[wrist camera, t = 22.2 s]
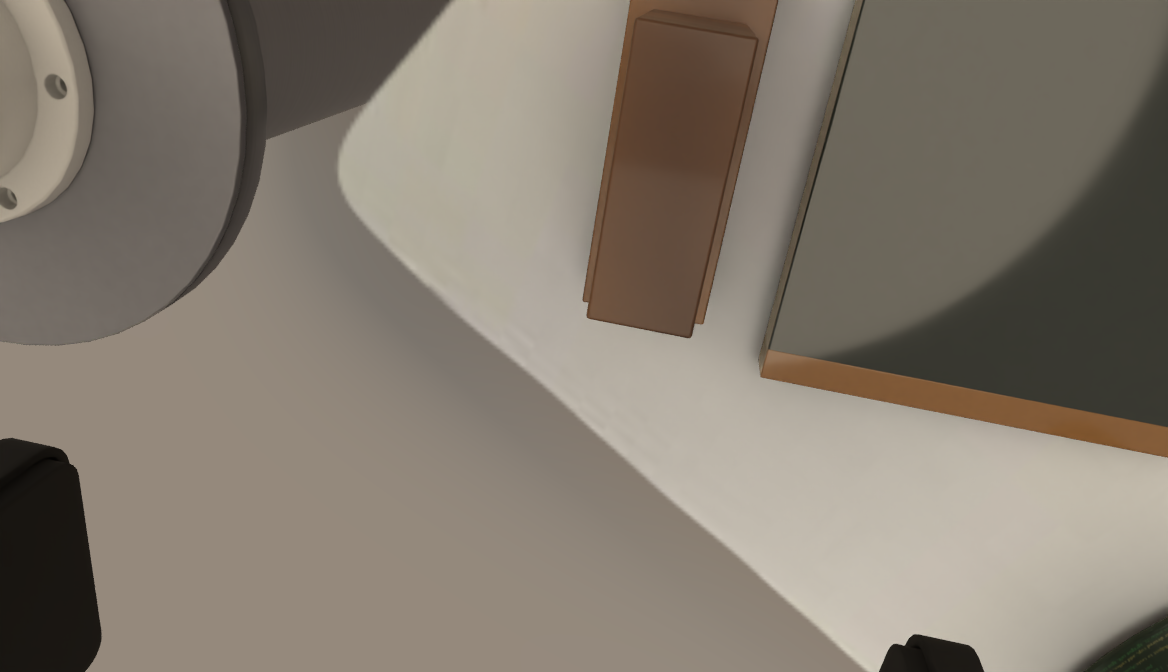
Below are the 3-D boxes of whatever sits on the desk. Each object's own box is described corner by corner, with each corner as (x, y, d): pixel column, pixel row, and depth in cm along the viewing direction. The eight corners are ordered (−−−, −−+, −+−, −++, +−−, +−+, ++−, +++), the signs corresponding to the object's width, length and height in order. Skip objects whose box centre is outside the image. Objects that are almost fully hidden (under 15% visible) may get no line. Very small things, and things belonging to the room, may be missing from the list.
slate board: (757, 360, 31) (759, 377, 30) (947, -344, 22) (963, -366, 21) (1179, 442, 30) (1201, 464, 29) (1564, -262, 21) (1623, -279, 20)
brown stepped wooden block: (590, 279, 31) (552, 376, 23) (647, -64, 26) (620, -81, 18) (703, 300, 31) (701, 406, 23) (782, -42, 26) (812, -51, 18)
